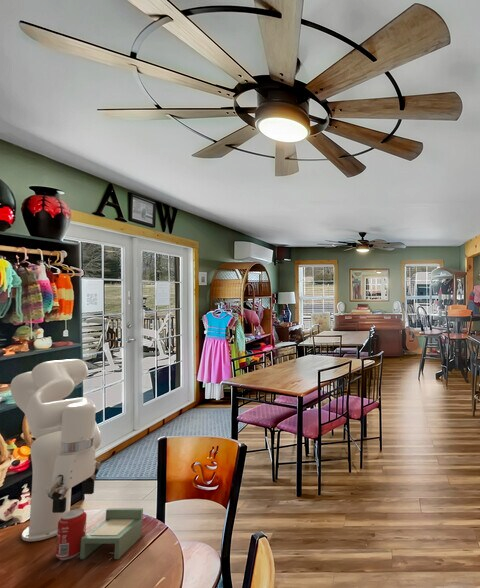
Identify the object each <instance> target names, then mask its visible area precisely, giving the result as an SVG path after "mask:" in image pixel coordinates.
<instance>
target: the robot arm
mask: <svg viewBox="0 0 480 588" xmlns="http://www.w3.org/2000/svg"><path fill="white" fill-rule="evenodd" d="M88 372H89V369H88V365H87V363H86V362H85V361H84V360H83V359H79V358H70V359H59V360H49V361H43V362H41V363H38V364H36V365H35V366H34V367H33V368H32V370H30V371H27V372H23V373H20V374H17V375H16V376H15V377H13V378H12V380H11V382H10V387H9V388H10V394H11V398H12V401H13V402H14V403H15V405H16V406H17V407H18V408H19V409H20V410H21V412H23V413H24V415H25V419H26V422H27V425H28V428H29V431H30V434H31V436H32V437H33V438H34V441H33V442H31V444H30V450H29V451H30V459H31V460H30V461H31V467H32V478H31V479H32V480H31V495H30V497H31V498H30V511H29V512H30V513H29V524H28V525H29V526H27V527H26V528H25V529H24V530H23V531H22V532H21V539H22V541H25V542H38V541H39V542H40V541H44V540H48V539H51V538H53V537H55V536H56V537H57V531H58V522H59V520H60V519H61V517H62V515H63V514H64V513H66V512H68V511H70V510H71V504H72V503H71V501H72V500H71V499H72V488H73V487H75V486H77V485H79V484H80V483H81V485H82V486H81V494H82V495H93V494H94V493H95V480H96V479H97V474H98V473H99V471H100V467H101V465H102V464H101V463H102V461H98V460H96V459H97V458H96V450H97V449H99V447H100V446H101V445H102V433H101V430H100V428H99V425H98V423H97V421H96V411H97V410H96V408H97V406H96V403H94V401H93V400H92V399H91V398H90V397H88V396H87V397H86V396H83V397H75V398H67V397H68V396H70V395H71V394H72V393H73V391H74V390H75V387H77V386H78V385H80V384H81V383H82V382H84V380H85V379H87V376H88ZM65 398H66V399H65Z"/></svg>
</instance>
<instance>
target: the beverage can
mask: <svg viewBox="0 0 480 588" xmlns="http://www.w3.org/2000/svg"><path fill="white" fill-rule="evenodd" d="M87 515H88V514H87V513H86V512H85V509H84V508H74V509H70V511H68V512H66V513H64V514H63V515H62V517H61V519H60V520H59V522H58V531H57V535H56V547H55V558H57V559H59V560H61V561H66V560H70V559H73V558H75V557H76V556H78V555H80V551H81V538H82V537H84V536H85V535H86V531H87V517H88V516H87Z"/></svg>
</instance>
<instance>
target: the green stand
mask: <svg viewBox="0 0 480 588" xmlns="http://www.w3.org/2000/svg"><path fill="white" fill-rule="evenodd" d="M143 516H144V508H143V507H140V508H139V507H137V508H136V507H135V508H134V507H132V508H131V507H129V508H128V507H108V508H107V509H106V510H105V519H104V520H103V521H101V522H100V523H99V524H98V525H96V526H94V528H92V529H91V530H89V532H87V533H85V536H84V537H82V538H81V551H80V553H79V555H80V556H79V559H80V560H85V559H86V558H87V557H88V556H89V555H91V554H93V552H94V551H95V550H96V549H98V548H99V547H100V546H101V545H103V544H105V545H106V544H107V545H108V544H112V545H113V544H114V553H113V554H114V556H113V559H114V560H119V559H120V558H121V557H122V556H123V555H124V554H125V553H126V552H127V551H128V550H130V548H131V547H132V546H133V545H135V543H137V542H138V541H139V540H140V539H141V538H142V536H143Z"/></svg>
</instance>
